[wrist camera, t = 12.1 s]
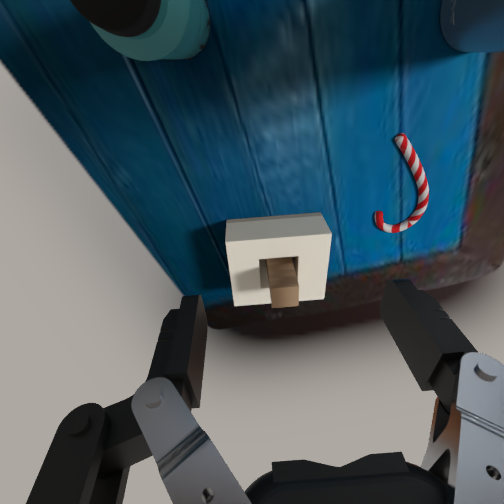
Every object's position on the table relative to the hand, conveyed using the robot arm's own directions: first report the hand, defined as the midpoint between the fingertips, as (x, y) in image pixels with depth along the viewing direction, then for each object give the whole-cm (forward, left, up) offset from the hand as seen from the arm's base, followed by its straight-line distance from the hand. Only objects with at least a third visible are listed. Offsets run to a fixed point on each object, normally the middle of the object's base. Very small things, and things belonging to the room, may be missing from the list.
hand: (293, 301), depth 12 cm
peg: (-2, +17, -27) cm, 32 cm away
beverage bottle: (+7, -12, -28) cm, 32 cm away
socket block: (-2, +17, -28) cm, 33 cm away
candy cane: (-20, +8, -29) cm, 36 cm away
